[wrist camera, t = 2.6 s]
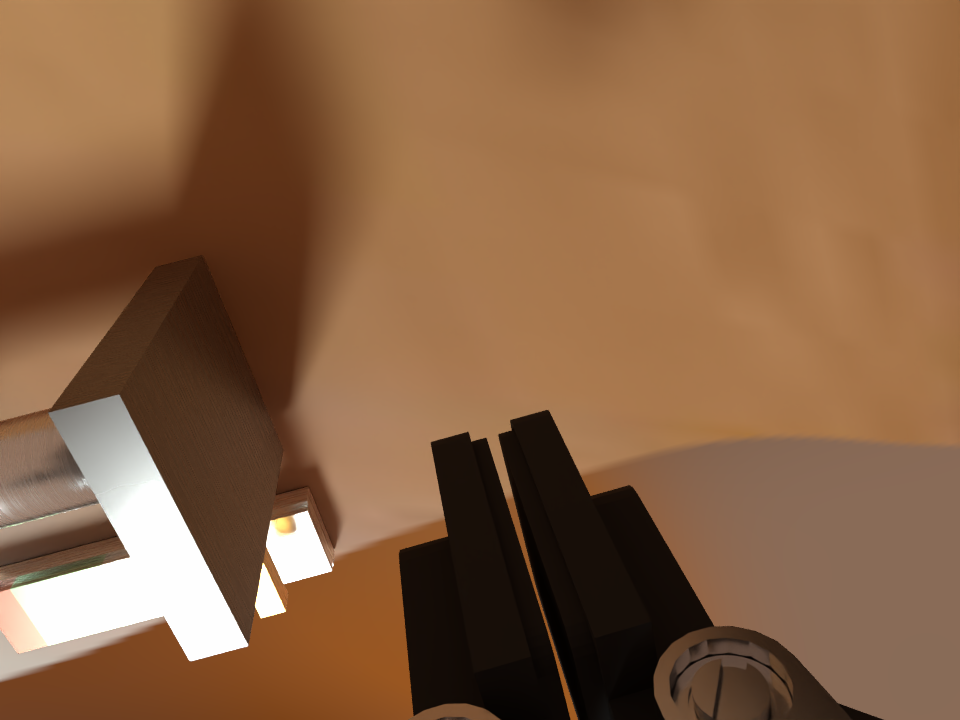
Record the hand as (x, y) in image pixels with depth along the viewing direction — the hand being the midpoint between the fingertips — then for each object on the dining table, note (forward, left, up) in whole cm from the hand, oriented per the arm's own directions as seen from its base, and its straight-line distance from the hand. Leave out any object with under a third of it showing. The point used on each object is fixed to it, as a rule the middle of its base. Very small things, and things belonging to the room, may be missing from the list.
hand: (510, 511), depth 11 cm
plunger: (+10, +1, -7) cm, 13 cm away
